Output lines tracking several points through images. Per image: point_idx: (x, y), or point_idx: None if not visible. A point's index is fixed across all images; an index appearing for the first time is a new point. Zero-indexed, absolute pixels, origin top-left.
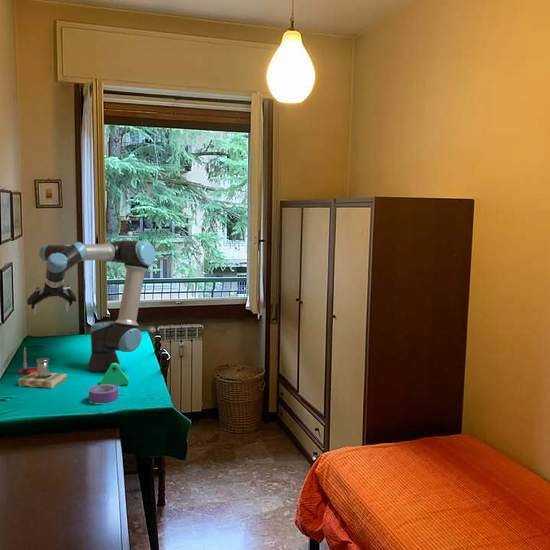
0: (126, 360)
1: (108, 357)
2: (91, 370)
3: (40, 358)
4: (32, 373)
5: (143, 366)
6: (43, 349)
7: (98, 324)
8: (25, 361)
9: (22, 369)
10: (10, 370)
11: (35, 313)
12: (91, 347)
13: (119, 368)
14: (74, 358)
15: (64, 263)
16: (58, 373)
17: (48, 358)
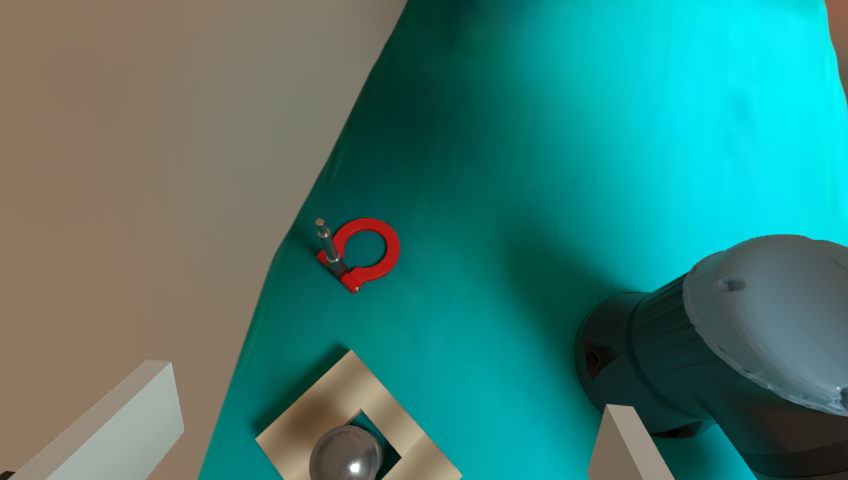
0: None
1: (699, 421)
2: (585, 389)
3: (339, 432)
4: (334, 372)
5: None
6: (467, 31)
7: (806, 373)
8: (331, 257)
9: (327, 265)
10: (310, 205)
11: (166, 443)
12: (637, 336)
13: None
14: (545, 170)
15: None
16: (431, 440)
17: (376, 459)
